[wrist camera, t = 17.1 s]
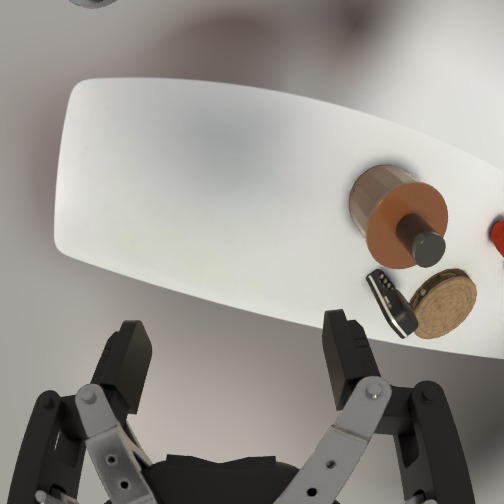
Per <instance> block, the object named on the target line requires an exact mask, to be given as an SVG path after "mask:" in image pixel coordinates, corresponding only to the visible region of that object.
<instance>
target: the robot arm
mask: <svg viewBox="0 0 504 504" xmlns="http://www.w3.org/2000/svg"><path fill="white" fill-rule="evenodd" d="M322 341H323V342H322V343H323V350H324V354H325V359H326V363H327V368H328V372H329V377H330V381H331V386H332V391H333V395H334V400H335V405H336V410H337V411H338V410H342V412H341V413H340V415H339V417H338V418H337V420H336V421H335V423H334V424H333V425H331V427H330V428H329V429H328V430H327V432H326V434H325V435H324V436H323V438H322V439H321V441H320V442H319V444H318V445H317V447H316V448H315V450H314V451H313V453H312V454H311V455H310V457H309V458H308V460H307V461H306V462H305V464H304V465H303V467H302V468H301V469H298V468H296V467H294V466H292V465H289V464H286V463H282V462H276V457H275V456H265V457H246V458H242V459H238V460H234V461H229V462H225V463H215V462H211V461H207V460H204V459H200V458H196V457H193V456H181V455H169V454H167V458H166V460H165V461H161V462H158V463H155V464H153V463H152V461H151V460H150V459H149V458H148V456H147V455H146V454H145V452H144V451H143V449H142V447H141V445H140V443H139V442H138V440H137V438H136V436H135V434H134V433H133V431H132V429H131V427H130V425H129V423H128V421H127V420H126V419H127V415H128V414H137V411H138V407H139V402H140V398H141V394H142V391H143V387H144V383H145V379H146V375H147V371H148V368H149V364H150V361H151V357H152V345H151V342H150V340H149V337H148V335H147V333H146V330H145V328H144V326H143V323H142V322H141V321H139V320H134V321H132V320H130V321H129V320H128V321H127V320H125V321H124V322H123V323H122V326H121V328H120V331H119V332H114V333H113V335H112V336H111V337H110V338H109V339H108V341H107V343H106V345H105V348H104V350H103V353H102V356H101V358H100V360H99V362H98V365H97V367H96V370H95V373H94V375H93V377H92V380H91V382H90V384H87V385H85V386H83V387H81V388H80V389H79V391H78V392H77V393H76V395H71V396H65V397H60V396H59V395H58V393H57V392H55V391H52V390H48V391H45V392H43V393H42V394H41V395H40V396H39V397H38V398H37V400H36V403H35V406H34V408H33V412H32V414H31V417H30V420H29V423H28V426H27V429H26V432H25V435H24V438H23V441H22V445H21V448H20V451H19V455H18V458H17V462H16V466H15V470H14V474H13V478H12V482H11V487H10V491H9V496H8V501H7V504H79V503H78V501H77V494H78V488H79V482H80V476H81V471H82V466H83V461H84V456H85V451H86V447H87V450H88V452H89V455H90V457H91V460H92V462H93V464H94V467H95V469H96V471H97V473H98V476H99V478H100V480H101V482H102V484H103V486H104V488H105V490H106V492H107V494H108V496H109V498H110V499H109V500H108V501H107V502H106V503H104V504H340V503H339V502H338V501H336V500H335V498H336V497H337V496H338V494H339V493H340V491H341V490H342V488H343V486H344V485H345V483H346V482H347V480H348V478H349V477H350V475H351V473H352V472H353V470H354V469H355V467H356V465H357V463H358V462H359V460H360V458H361V456H362V455H363V453H364V451H365V449H366V447H367V445H368V443H369V441H370V439H371V437H372V435H373V433H377V434H388V435H393V437H394V442H395V447H396V452H397V458H398V463H399V468H400V474H401V480H402V486H403V493H404V500H405V502H403V503H401V504H475V499H474V494H473V490H472V485H471V480H470V476H469V472H468V468H467V464H466V460H465V457H464V453H463V449H462V446H461V442H460V439H459V436H458V432H457V429H456V426H455V423H454V420H453V417H452V414H451V411H450V408H449V405H448V402H447V399H446V397H445V394H444V391H443V389H442V388H441V386H440V385H438V384H437V383H435V382H433V381H422V382H419V383H418V384H416V386H415V387H414V388H404V387H395V386H392V385H390V384H389V383H388V382H387V381H386V380H385V379H383V378H382V377H381V375H380V373H379V370H378V367H377V365H376V362H375V359H374V356H373V353H372V351H371V348H370V346H369V342H368V340H367V337H366V334H365V332H364V329H363V327H362V326H361V325H360V324H359V323H358V322H357V321H356V320H348V321H347V319H346V316H345V313H344V311H343V309H338V310H329V311H325V314H324V324H323V334H322ZM59 432H60V434H59ZM58 434H59V437H58ZM57 437H58V442H57V445H56V441H57ZM55 445H56V449H55Z"/></svg>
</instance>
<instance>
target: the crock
mask: <svg viewBox="0 0 504 504" xmlns="http://www.w3.org/2000/svg"><path fill="white" fill-rule="evenodd" d="M409 181H419V180H417V179H416V178H414V177H413V176H412V175H410V174H409V173H407V172H406V171H404V170H402V169H400V168H398V167H396V166H392V165H380V166H376V167H373V168H371V169H369V170H368V171H366V172H365V173H364V174H362V175H361V176H360V177H359V179H358V180H357V181H356V183H355V184H354V186H353V188H352V191H351V194H350V199H349V208H350V213H351V216H352V218H353V220H354V223H355V224H356V226H357V227H358V229H359V230H360V232H361V233H362V235H363V236H364V238H365V239H366V237H365V229H366V223H367V220H368V217H369V214H370V212H371V210H372V208H373V206H374V205H375V203H376V202H377V201H378V200H379V198H380V197H381V196H382V195H383V194H384V193H386V192H387V191H388V190H389V189H391V188H392V187H394V186H396V185H398V184H401V183H404V182H409ZM419 182H420V181H419Z"/></svg>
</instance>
